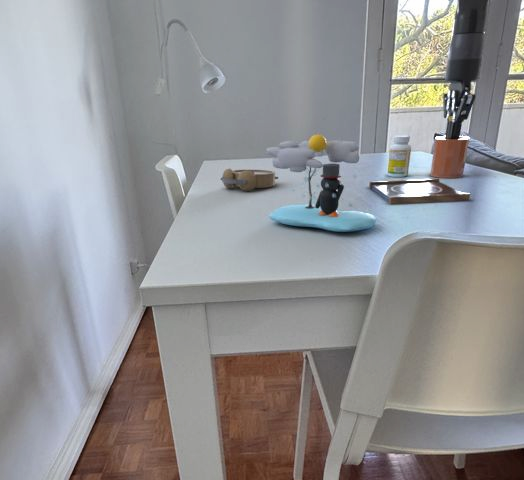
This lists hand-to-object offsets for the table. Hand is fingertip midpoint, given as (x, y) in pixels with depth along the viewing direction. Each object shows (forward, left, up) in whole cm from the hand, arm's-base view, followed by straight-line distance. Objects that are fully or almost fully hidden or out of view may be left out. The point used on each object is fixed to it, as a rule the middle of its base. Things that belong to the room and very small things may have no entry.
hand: (452, 138), depth 118 cm
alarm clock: (+52, +4, -9) cm, 53 cm away
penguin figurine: (+40, +42, -9) cm, 59 cm away
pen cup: (0, 0, -9) cm, 9 cm away
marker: (0, 0, -6) cm, 6 cm away
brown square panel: (+15, +20, -9) cm, 27 cm away
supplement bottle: (+12, -3, -9) cm, 15 cm away
